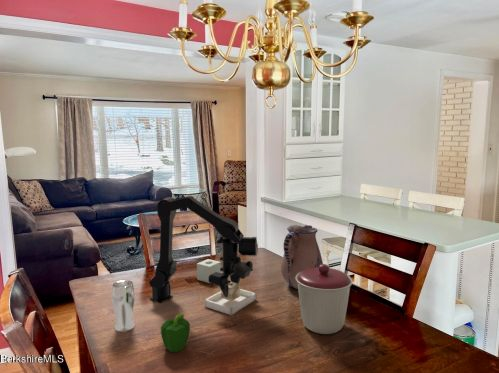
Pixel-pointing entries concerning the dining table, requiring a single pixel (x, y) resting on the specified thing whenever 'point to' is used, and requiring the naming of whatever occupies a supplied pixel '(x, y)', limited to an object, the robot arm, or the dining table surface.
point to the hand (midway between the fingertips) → (230, 294)
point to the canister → (323, 298)
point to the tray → (230, 302)
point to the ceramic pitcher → (299, 252)
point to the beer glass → (123, 304)
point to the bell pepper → (175, 333)
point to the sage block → (207, 269)
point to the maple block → (232, 291)
